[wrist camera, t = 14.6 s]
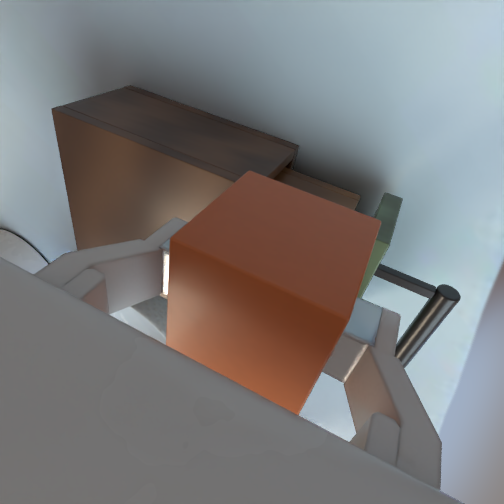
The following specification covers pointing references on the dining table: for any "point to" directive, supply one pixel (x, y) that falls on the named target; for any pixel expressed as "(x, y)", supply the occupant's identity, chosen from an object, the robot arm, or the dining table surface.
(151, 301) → the cereal bowl
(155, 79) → the dining table surface
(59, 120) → the cabinet
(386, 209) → the drawer
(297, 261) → the block
